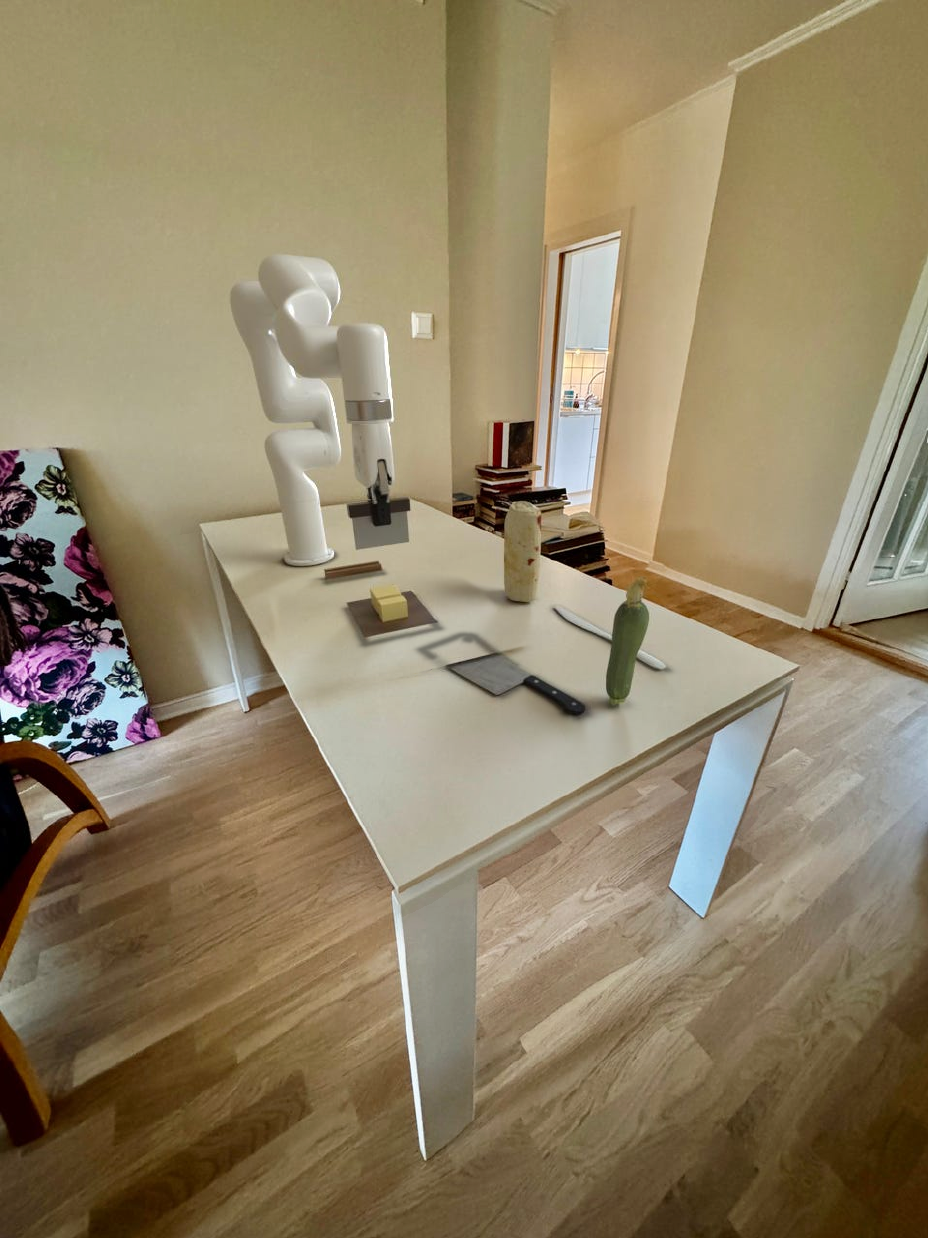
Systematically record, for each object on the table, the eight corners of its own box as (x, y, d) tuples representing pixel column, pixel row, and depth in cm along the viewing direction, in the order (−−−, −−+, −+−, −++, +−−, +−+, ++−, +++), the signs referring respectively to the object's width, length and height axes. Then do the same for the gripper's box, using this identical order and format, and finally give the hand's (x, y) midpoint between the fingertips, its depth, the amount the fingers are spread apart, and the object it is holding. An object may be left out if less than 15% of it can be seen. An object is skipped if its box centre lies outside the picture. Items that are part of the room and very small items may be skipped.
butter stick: (371, 604, 97) (369, 588, 96) (395, 599, 99) (394, 583, 97) (377, 614, 93) (375, 597, 92) (402, 609, 95) (401, 593, 93)
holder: (325, 578, 114) (324, 569, 112) (379, 570, 118) (378, 560, 117) (327, 583, 111) (326, 573, 110) (382, 574, 116) (381, 564, 114)
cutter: (352, 548, 87) (346, 503, 83) (410, 539, 91) (406, 496, 87) (354, 551, 86) (348, 505, 82) (413, 542, 89) (409, 498, 86)
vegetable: (598, 693, 72) (615, 568, 63) (626, 691, 72) (648, 566, 63) (609, 711, 68) (629, 581, 59) (638, 709, 68) (663, 579, 59)
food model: (545, 602, 100) (552, 507, 91) (518, 608, 98) (521, 511, 88) (521, 585, 108) (525, 496, 99) (495, 591, 106) (496, 500, 96)
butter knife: (655, 670, 76) (668, 664, 77) (548, 608, 97) (560, 603, 98) (655, 673, 76) (668, 667, 77) (548, 610, 97) (560, 606, 98)
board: (347, 608, 99) (346, 602, 98) (412, 596, 104) (411, 590, 103) (365, 644, 86) (364, 637, 85) (438, 628, 91) (438, 621, 90)
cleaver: (542, 738, 63) (592, 707, 68) (543, 734, 63) (592, 704, 68) (421, 649, 84) (466, 632, 89) (421, 647, 84) (466, 629, 89)
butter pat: (379, 616, 92) (377, 600, 91) (404, 611, 94) (402, 595, 92) (382, 622, 90) (380, 605, 89) (408, 616, 92) (406, 600, 90)
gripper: (337, 410, 83) (350, 515, 92) (356, 417, 70) (370, 538, 79) (379, 408, 86) (389, 510, 94) (406, 414, 73) (414, 532, 81)
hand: (380, 522), depth 86 cm, fingers closed on cutter, 1 cm apart
